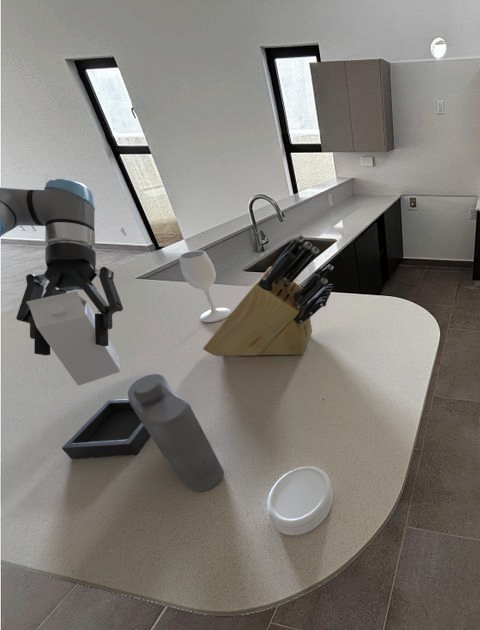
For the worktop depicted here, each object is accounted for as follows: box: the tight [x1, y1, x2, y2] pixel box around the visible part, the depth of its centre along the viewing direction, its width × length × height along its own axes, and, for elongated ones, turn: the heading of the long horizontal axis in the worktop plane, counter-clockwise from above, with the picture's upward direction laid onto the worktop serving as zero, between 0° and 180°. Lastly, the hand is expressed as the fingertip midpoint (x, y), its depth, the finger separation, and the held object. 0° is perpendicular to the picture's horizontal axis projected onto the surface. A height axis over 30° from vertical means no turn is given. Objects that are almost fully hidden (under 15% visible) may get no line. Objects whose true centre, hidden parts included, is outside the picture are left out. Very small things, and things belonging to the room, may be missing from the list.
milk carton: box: [26, 290, 121, 386], centre depth 69 cm, size 7×7×19 cm
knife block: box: [202, 234, 334, 357], centre depth 86 cm, size 11×35×31 cm, turn 91°
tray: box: [61, 398, 152, 460], centre depth 68 cm, size 12×12×3 cm
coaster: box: [266, 465, 334, 537], centre depth 55 cm, size 10×10×4 cm
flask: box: [127, 373, 225, 492], centre depth 57 cm, size 15×6×20 cm, turn 52°
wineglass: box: [178, 249, 231, 323], centre depth 102 cm, size 9×9×21 cm
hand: (73, 349), depth 68 cm, fingers closed on milk carton, 9 cm apart
